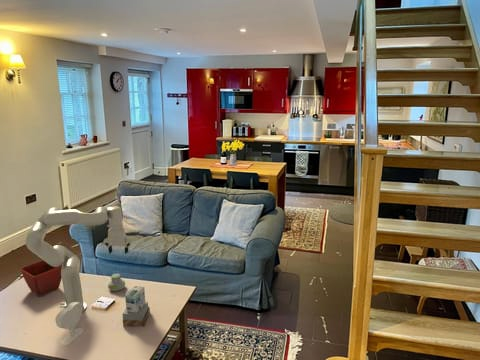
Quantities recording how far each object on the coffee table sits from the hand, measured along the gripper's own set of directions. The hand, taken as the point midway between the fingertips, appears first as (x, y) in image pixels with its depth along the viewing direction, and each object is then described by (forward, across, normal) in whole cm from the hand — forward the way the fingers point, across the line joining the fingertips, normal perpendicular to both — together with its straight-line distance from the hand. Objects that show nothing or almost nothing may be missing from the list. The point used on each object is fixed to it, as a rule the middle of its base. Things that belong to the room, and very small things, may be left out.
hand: (118, 252), depth 220 cm
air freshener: (+34, -9, +14) cm, 37 cm away
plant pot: (+34, -57, +12) cm, 67 cm away
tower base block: (+34, +14, -19) cm, 41 cm away
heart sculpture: (+34, -16, -34) cm, 50 cm away
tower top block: (+29, +14, -19) cm, 38 cm away
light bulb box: (+26, +15, -18) cm, 35 cm away
